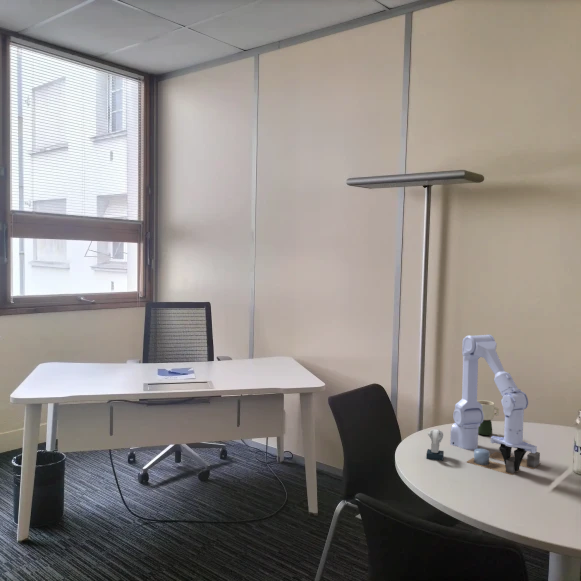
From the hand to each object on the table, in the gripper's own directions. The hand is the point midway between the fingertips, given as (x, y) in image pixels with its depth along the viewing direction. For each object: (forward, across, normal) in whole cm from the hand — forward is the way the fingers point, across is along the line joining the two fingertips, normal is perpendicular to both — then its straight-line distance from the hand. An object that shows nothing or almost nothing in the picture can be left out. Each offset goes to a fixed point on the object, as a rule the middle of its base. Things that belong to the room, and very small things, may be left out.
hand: (512, 468), depth 184 cm
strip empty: (+2, -3, +10) cm, 11 cm away
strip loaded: (+2, -7, 0) cm, 7 cm away
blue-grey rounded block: (+1, -11, 0) cm, 11 cm away
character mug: (+2, -24, +33) cm, 41 cm away
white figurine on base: (+2, -24, -7) cm, 25 cm away
